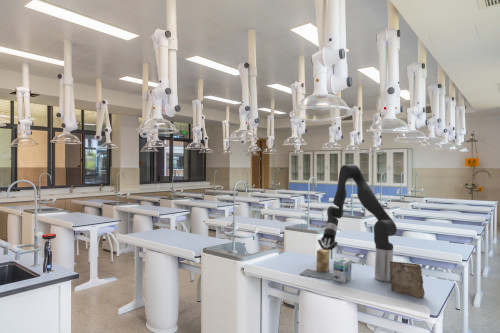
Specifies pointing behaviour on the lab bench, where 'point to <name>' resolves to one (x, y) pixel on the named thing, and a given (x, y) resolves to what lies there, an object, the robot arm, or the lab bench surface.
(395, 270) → the mineral sample
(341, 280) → the light bulb box
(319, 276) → the mat
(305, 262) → the lab bench surface
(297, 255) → the lab bench surface
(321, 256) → the oak block
